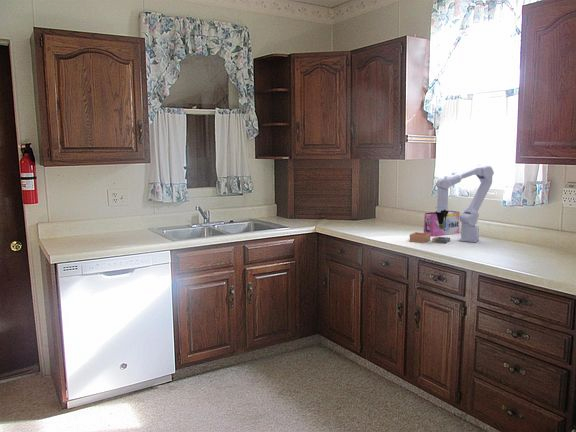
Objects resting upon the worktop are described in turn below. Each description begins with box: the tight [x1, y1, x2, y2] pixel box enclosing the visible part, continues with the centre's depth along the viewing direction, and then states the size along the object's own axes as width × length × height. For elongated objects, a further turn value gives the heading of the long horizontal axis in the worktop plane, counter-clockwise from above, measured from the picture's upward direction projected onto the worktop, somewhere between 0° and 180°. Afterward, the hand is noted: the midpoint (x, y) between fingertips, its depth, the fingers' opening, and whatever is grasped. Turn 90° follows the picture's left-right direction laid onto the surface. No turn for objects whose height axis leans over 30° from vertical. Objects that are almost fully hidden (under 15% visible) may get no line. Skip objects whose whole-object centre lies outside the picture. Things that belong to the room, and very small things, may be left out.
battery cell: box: [439, 217, 445, 229], centre depth 287 cm, size 3×3×8 cm
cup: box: [409, 231, 432, 244], centre depth 291 cm, size 9×9×4 cm
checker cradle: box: [431, 236, 451, 244], centre depth 288 cm, size 8×8×2 cm
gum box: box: [423, 210, 461, 237], centre depth 312 cm, size 24×8×14 cm, turn 119°
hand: (441, 223), depth 287 cm, fingers closed on battery cell, 3 cm apart
